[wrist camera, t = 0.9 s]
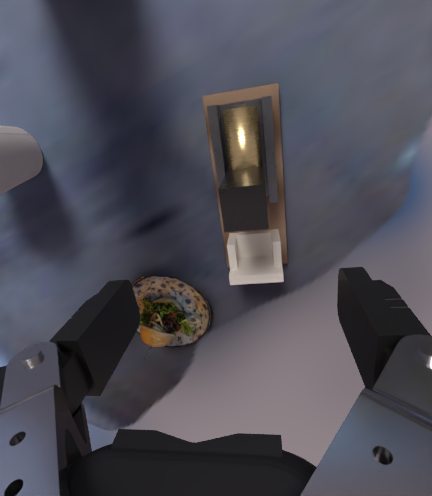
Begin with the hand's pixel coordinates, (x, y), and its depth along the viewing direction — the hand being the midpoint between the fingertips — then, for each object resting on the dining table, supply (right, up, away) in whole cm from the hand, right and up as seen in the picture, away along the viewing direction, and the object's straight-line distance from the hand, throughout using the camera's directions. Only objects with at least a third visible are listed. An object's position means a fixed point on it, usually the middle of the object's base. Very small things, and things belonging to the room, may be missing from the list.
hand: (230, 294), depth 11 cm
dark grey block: (+2, +10, +17) cm, 20 cm away
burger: (-7, -6, +29) cm, 31 cm away
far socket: (+4, +2, +22) cm, 23 cm away
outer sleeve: (+2, +11, +18) cm, 21 cm away
